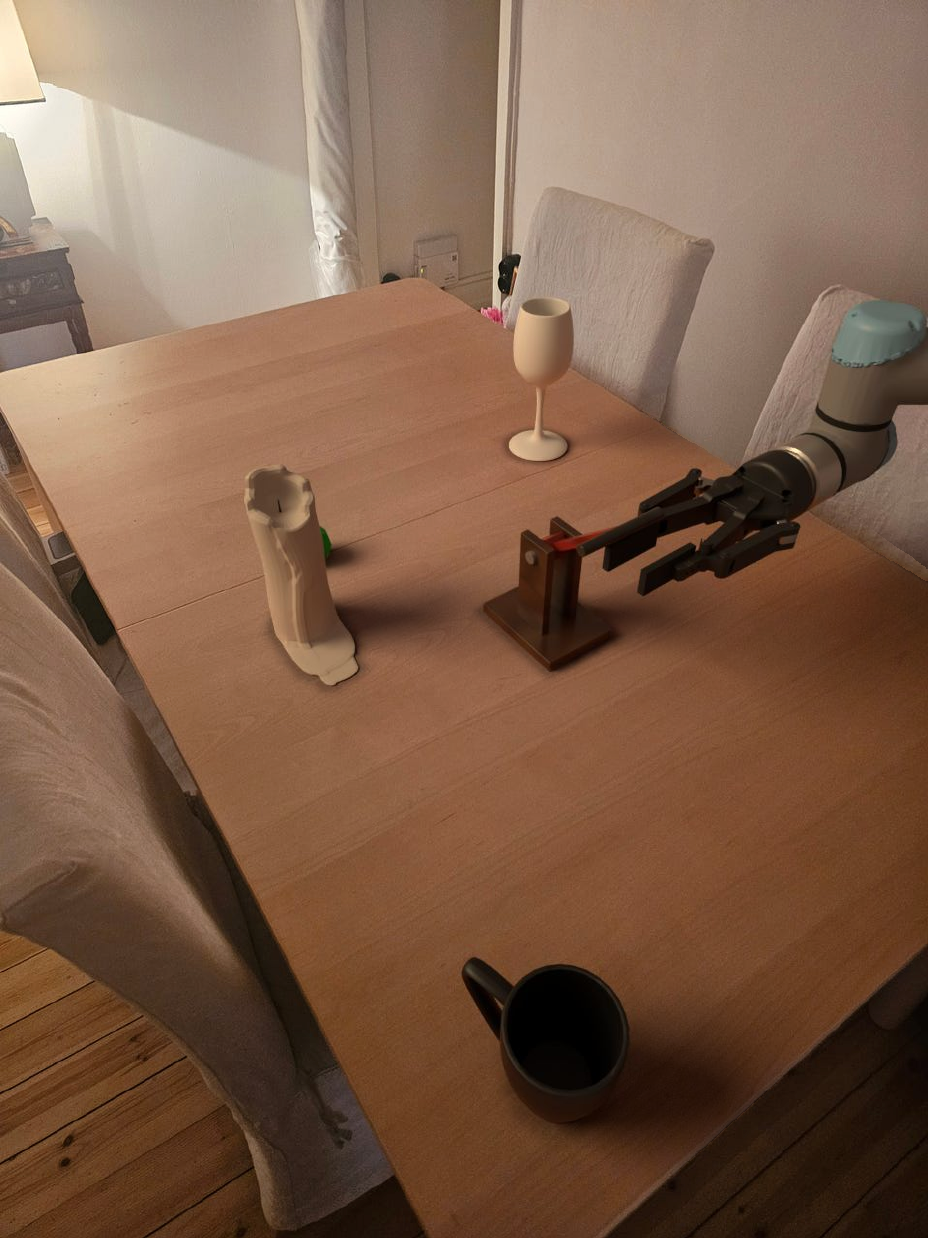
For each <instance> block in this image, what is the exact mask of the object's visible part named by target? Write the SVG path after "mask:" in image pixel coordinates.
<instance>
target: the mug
mask: <svg viewBox="0 0 928 1238" xmlns="http://www.w3.org/2000/svg"><path fill="white" fill-rule="evenodd" d="M461 978H462V981H463V983H464V986H465V988H466V989H467V992H468V994H469V995H470V997H471V999H472V1000H473V1002H474V1004H475V1006H476V1008H477V1009H478V1011H479V1012H480V1015H481V1016H482V1017H483V1019H484V1020H485V1022H486V1024H487V1025H488V1027H489V1028H490V1030H491V1031H492V1033H493V1034H494V1036H495V1038H496V1039H497V1040H498V1041H499V1049H500V1056H501V1063H502V1067H503V1070H504V1072H505V1075H506V1078H507V1081H508V1083H509V1085H510V1086H511V1089H512V1090H513V1092H514V1093H515V1095H516V1097H517V1098H518V1099H519V1101H521V1103H522V1104H523V1105H524V1106H525V1107H526V1108H527V1109H528V1110H529V1111H531V1112H532V1113H533V1114H534V1115H535V1116H537V1117H538V1118H540V1119H541V1120H544V1121H546V1122H549V1123H554V1124H555V1123H556V1124H562V1123H569V1122H574V1121H577V1120H579V1119H582V1118H584V1117H587V1116H589V1115H590V1114H591V1113H593V1112H594V1111H595V1110H597V1109H598V1108H600V1107H601V1106H602V1105H603V1104H604V1103H605V1102H606V1100H607V1099H608V1098H609V1097H610V1095H611V1094H612V1093H613V1091H614V1090H615V1089H616V1087H617V1085H618V1082H619V1080H620V1079H621V1076H622V1073H623V1071H624V1067H625V1065H626V1061H627V1058H628V1055H629V1048H630V1043H631V1040H630V1037H631V1036H630V1025H629V1021H628V1017H627V1013H626V1011H625V1008H624V1005H623V1004H622V1002H621V1000H620V998H619V997H618V995H617V994H616V993H615V992H614V990H613V989H612V987H611V986H610V985H609V984H608V983H607V982H605V981H604V980H603V979H602V978H601V977H600V976H598V975H597V974H594V973H593V972H592V971H589V970H588V969H586V968H582V967H580V966H576V965H573V964H565V963H555V964H547V965H544V966H541V967H537V968H534V969H533V970H531V971H530V972H528V973H527V974H525V975H523V976H522V977H521V978H520V979H519V980H518V981H517V982H516V983H515V984H512V983H511V982H510V981H508V979H506V978H505V977H504V976H503V975H502V974H501V973H500V972H498V971H497V970H496V969H495V968H494V967H492V966H491V965H490V964H488V963H487V962H486V961H484V960H483V959H481V958H479V957H477V956H473V957H470V958H469V959H467V961H466V962H465V963H464V964H463V966H462V969H461ZM497 1001H498V1002H499V1003H500V1005H502V1006H503V1007H502V1008H501V1006H500V1005H499V1004H498V1002H497Z"/></svg>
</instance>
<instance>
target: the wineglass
mask: <svg viewBox="0 0 928 1238" xmlns="http://www.w3.org/2000/svg"><path fill="white" fill-rule="evenodd" d="M573 321H574V320H573V313H572V307H571V305H570V304H569V302H567V301H565V300H563V299H560V298H557V297H549V296H539V297H533V298H529V299H527V300H525V301H523V302H522V303H521V304H520V306H519V310H518V314H517V318H516V322H515V327H514V334H513V346H512V347H513V361H514V365H515V369H516V370H517V372H518V374H519V375H520V376H521V377H522V378H523V379H524V380H525V381H526V382H528V383H529V384H530V385H532V386H534V387H535V389H536V417H535V423H534V424H535V425H534V429H530V430H524V431H521V432H519V433H517V434H515V435H514V436H512V438H511V439H510V440H509V442H508V448H509V450H510V452H511V453H512V454H513V455H514V456H516V457H519V458H520V459H523V460H526V461H531V462H546V461H552V460H555V459H558V458H560V457H561V456H563V455H564V454H565V453H566V451H568V443H567V441H566V439H565V438H564V437H563V436H561V435H560V434H558V433H555V432H553V431H550V430H546V429H545V430H544V406H545V405H544V402H545V396H546V390H547V388H548V387H549V386H551V385H553V384H555V383H557V382H558V381H560V380H561V379H562V378H563V377H564V376H565V375H566V373H567V372H568V371H569V368H570V366H571V364H572V360H573V353H574V345H575V343H574V342H575V334H574V333H575V331H574V322H573Z"/></svg>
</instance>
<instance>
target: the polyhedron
mask: <svg viewBox="0 0 928 1238" xmlns="http://www.w3.org/2000/svg"><path fill="white" fill-rule="evenodd" d="M319 526H320V530H321V534H322V539H323V547H324V556H325V559H327V558H328V557H329V555H330V553H331V549H332V542H331V540H330V537H329V535H328V532H327V530H326V528H324V527H323V526H321V525H319Z"/></svg>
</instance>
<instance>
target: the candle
mask: <svg viewBox="0 0 928 1238" xmlns="http://www.w3.org/2000/svg"><path fill="white" fill-rule="evenodd" d="M243 503H244V506H245V510H246V514H247V517H248V520H249V521H248V522H249V525H250V528H251V531H252V534H253V537H254V540H255V543H256V546H257V549H258V553H259V556H260V561H261V565H262V569H263V574H264V581H265V589H266V596H267V602H268V603H267V604H268V608H269V612H270V617H271V621H272V625H273V629H274V634H275V636H276V638H277V639H278V640H279V641H280V642H281V644H282V646H283V648H284V649H285V650H286V652H287V654H288V655H289V657H290V659H291V660H292V661H293V662H294V663H295V665H297V666H298V668H299V669H301V671H303V673H306V674H308V675H311V676H318V677H319V679H320V680H321V682H322V683H324V684H325V685H328V686H336V684H337V683H339V682H342V681H344V680H346V679H348V678H350V677H352V676H353V675H354V674H355V673H357V672H358V670H359V666H358V663H357V661H356V659H355V653H356V644H355V642H354V638H353V636H352V634H351V633H350V631H349V630H348V629H347V627H346V626H345V625H344V623H343V622H342V620H341V619H340V617H339V616H338V612H337V610H336V606H335V604H334V599H333V595H332V593H331V590H330V584H329V579H328V573H327V565H326V558H325V556H324V547H323V539H322V534H321V530H320V526H321V525H320V522H319V518H318V514H317V508H316V507H317V506H316V497H315V494H314V491H313V489H312V485H311V482H310V479H309V478H308V477H307V476H305V475H304V474H300V473H297V472H293V471H289V469H287V467H286V466H285V465H284V464H281V463H280V464H273V465H267V466H263V467H259V468H255V469H252V470H250V471H249V472H248V473H247V474H246V475H245V480H244V497H243Z"/></svg>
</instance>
